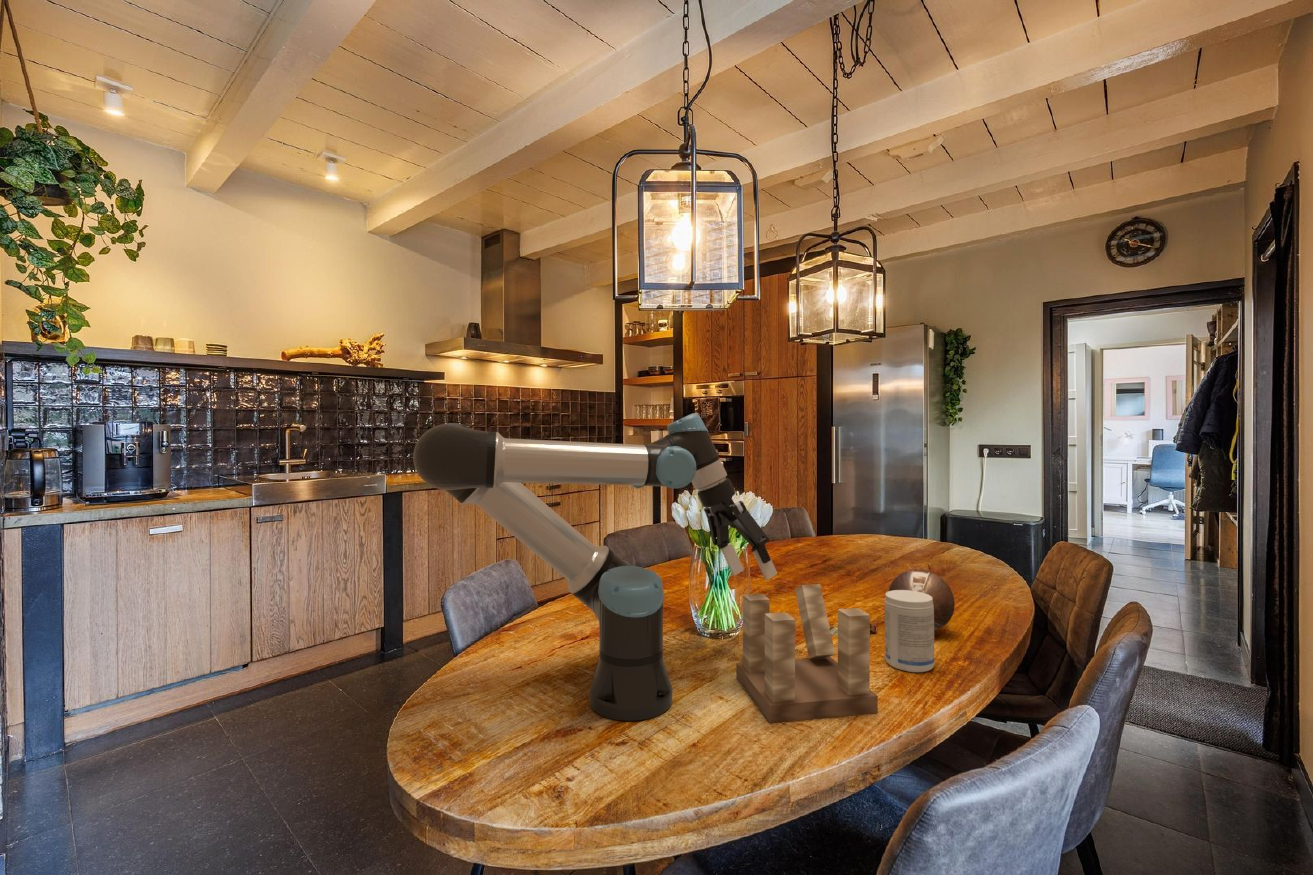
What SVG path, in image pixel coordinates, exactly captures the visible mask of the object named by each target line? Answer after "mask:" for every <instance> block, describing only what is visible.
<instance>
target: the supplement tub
mask: <svg viewBox="0 0 1313 875" xmlns="http://www.w3.org/2000/svg"><path fill="white" fill-rule="evenodd" d="M884 597H885V598H884V644H885V646H884V648H885V651H884V652H885V654H884V655H885V656H884V657H885V662H887V664H888V665H890V666H891V667H893V668H895V669H897V670H900V671H906V672H908V673H909V672H910V673H924V672H925V673H926V672H928V671H931V670H933V668H934V667H935V631H934V606H933V598H932V597H931V596H930V595H928V594H925V593H922V592H917V591H910V590H893V591H889V592H888V591H886V593H885V595H884Z"/></svg>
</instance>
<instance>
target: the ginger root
mask: <svg viewBox="0 0 1313 875" xmlns="http://www.w3.org/2000/svg"><path fill="white" fill-rule="evenodd" d="M829 627H830V631H831V636H832V637H833V636H835V637H838V625H837V626H832V625H831V626H829ZM870 631H871V632H873V633H877V631H878V629H877V626H876V625H875V624H874V623H872V624H871V623H870Z"/></svg>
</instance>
